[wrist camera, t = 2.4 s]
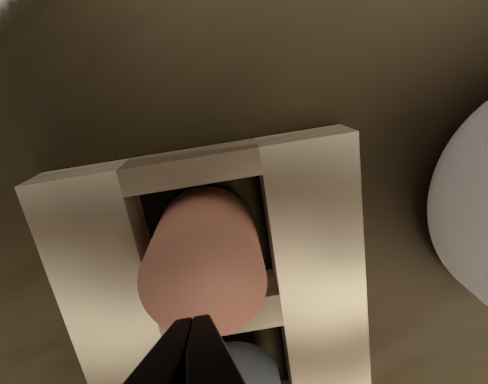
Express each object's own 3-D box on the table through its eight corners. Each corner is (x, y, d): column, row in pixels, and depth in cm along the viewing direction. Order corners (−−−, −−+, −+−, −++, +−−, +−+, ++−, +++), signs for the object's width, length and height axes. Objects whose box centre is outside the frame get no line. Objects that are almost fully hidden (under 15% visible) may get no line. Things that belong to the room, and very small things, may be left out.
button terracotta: (261, 266, 15) (274, 327, 12) (170, 281, 15) (153, 348, 12) (247, 178, 14) (258, 215, 10) (148, 195, 14) (122, 237, 10)
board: (363, 470, 20) (377, 510, 18) (156, 506, 20) (150, 551, 18) (340, 123, 14) (358, 130, 12) (42, 172, 14) (14, 187, 12)
